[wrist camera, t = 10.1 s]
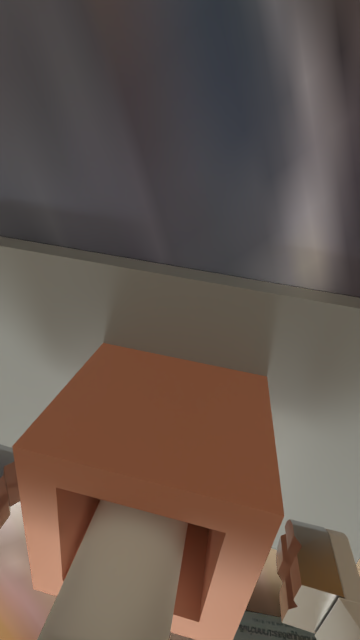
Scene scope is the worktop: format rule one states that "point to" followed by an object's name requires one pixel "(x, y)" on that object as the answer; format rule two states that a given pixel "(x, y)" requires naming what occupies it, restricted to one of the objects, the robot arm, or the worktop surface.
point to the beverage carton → (268, 629)
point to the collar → (158, 474)
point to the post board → (194, 345)
